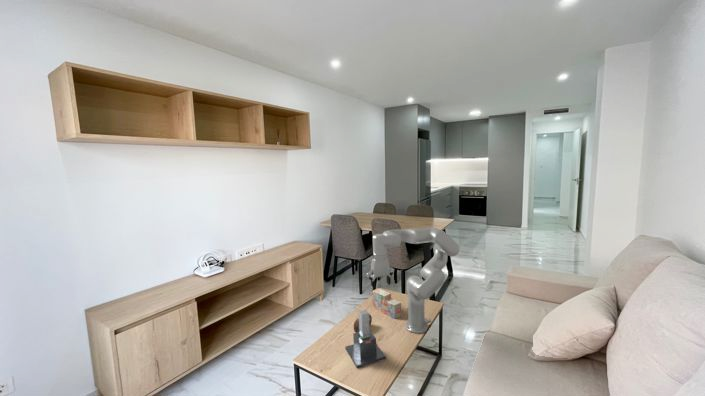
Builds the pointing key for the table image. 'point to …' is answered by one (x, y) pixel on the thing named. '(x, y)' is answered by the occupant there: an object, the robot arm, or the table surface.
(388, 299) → the stack of blocks
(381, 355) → the jack base
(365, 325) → the bar
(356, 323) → the tin
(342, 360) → the table surface
